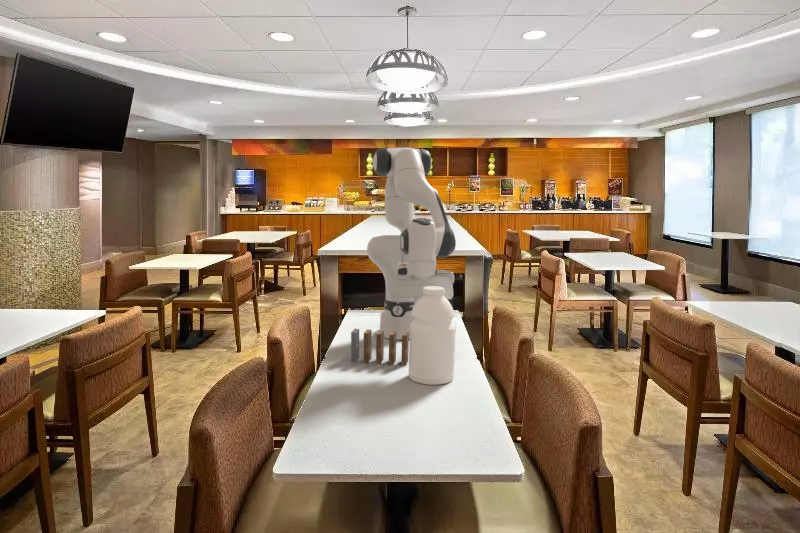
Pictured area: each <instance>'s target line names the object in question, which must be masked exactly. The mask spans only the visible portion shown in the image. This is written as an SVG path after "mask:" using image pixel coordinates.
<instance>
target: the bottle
mask: <svg viewBox="0 0 800 533" xmlns="http://www.w3.org/2000/svg"><path fill="white" fill-rule="evenodd" d="M422 293H423V294H424V295H423V296H422V297H420V298H418V301H417V302H416V303H415V305H414V306H413V309H412V311H411V316H412V317H413V318H414V321H413V322H412V323H411V324H410V339H409V352H408V365H409V366H408V377H409V379H410V380H411V381H412V382H415V383H417V384H421V385H422V384H423V385H428V386H429V385H430V386H432V385H433V386H434V385H435V386H436V385H437V386H439V385H444V384H448V383H451V382H452V381H453V380H454V378H455V358H456V357H455V356H456V354H455V353H456V349H455V348H456V347H455V346H456V330H457V328H456V325H455V324H454V323H453V322H452V320H453V319H454V318H455V317H456V313H455V311H454V308H453V306H452V304H451V303H450V301H449V299H446V297H444V296H443V294H445V289H444V288H443V287H439V286H426V287H423V289H422Z"/></svg>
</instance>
